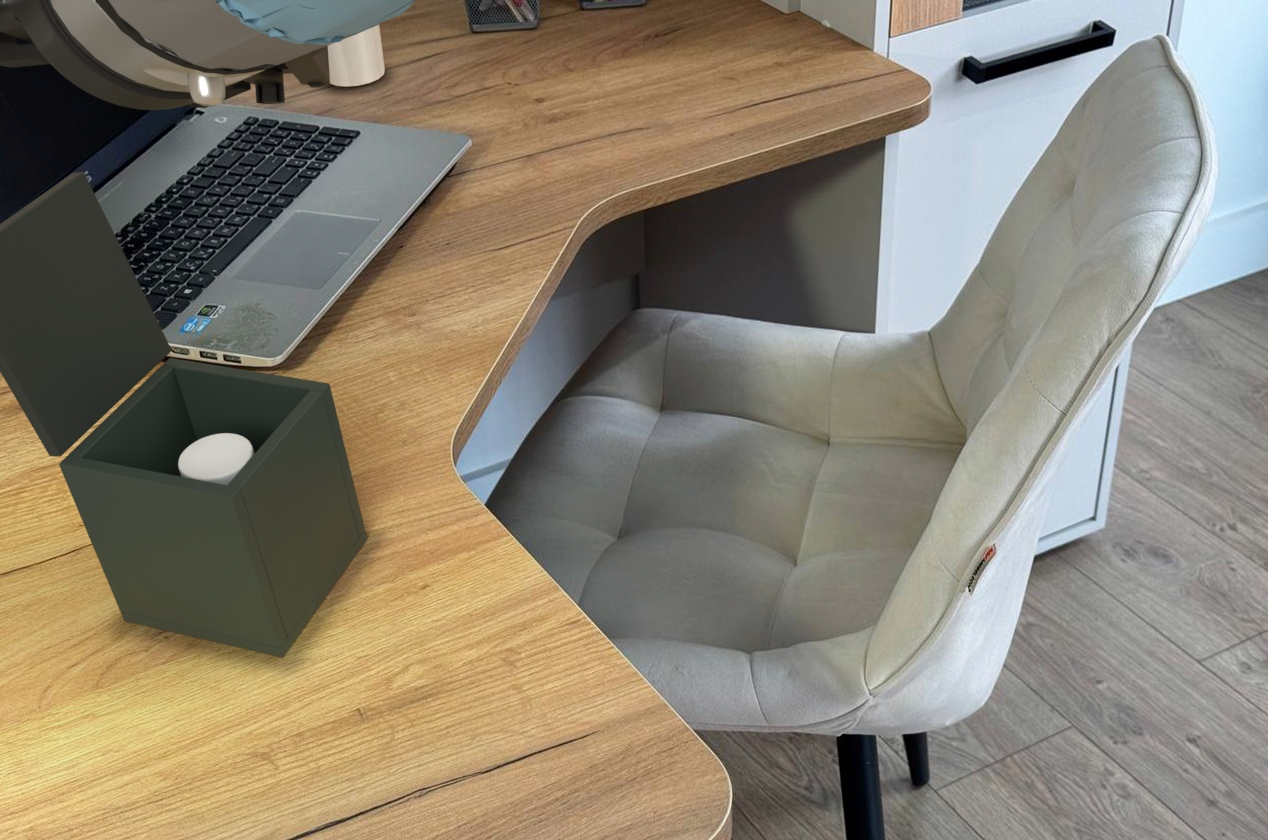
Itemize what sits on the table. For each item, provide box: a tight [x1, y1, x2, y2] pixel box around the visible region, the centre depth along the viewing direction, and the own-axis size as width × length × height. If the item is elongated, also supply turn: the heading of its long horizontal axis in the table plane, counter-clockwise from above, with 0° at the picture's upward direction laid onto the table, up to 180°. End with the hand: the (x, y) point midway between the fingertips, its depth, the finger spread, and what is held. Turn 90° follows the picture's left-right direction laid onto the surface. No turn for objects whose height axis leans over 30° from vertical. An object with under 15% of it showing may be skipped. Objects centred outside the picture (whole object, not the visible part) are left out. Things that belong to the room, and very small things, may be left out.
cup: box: [328, 24, 386, 88], centre depth 134 cm, size 8×8×14 cm
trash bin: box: [58, 357, 368, 658], centre depth 75 cm, size 11×10×12 cm
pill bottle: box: [178, 433, 255, 486], centre depth 74 cm, size 5×5×10 cm
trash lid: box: [0, 171, 173, 458], centre depth 69 cm, size 11×10×1 cm
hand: (34, 70), depth 56 cm, fingers open, 13 cm apart
